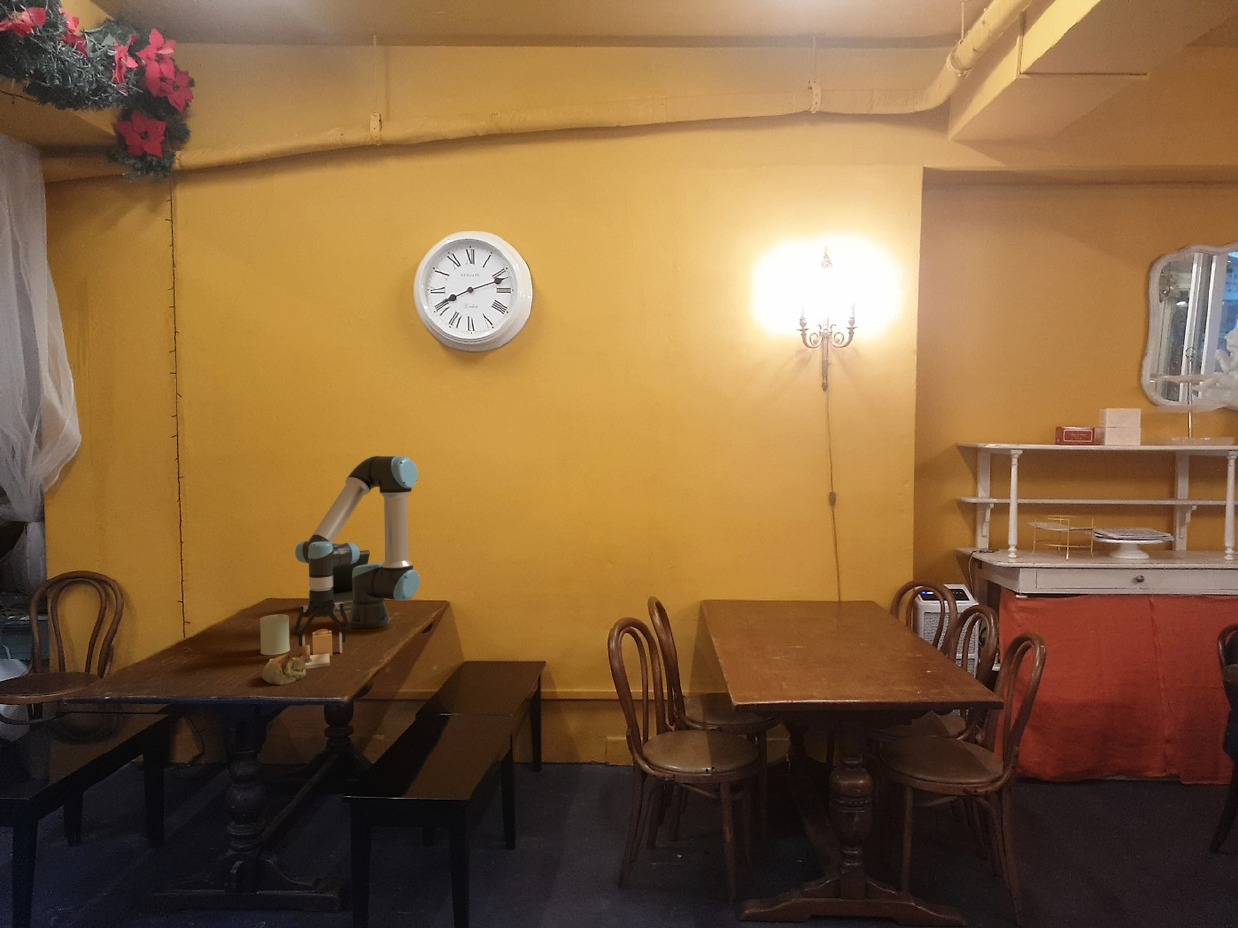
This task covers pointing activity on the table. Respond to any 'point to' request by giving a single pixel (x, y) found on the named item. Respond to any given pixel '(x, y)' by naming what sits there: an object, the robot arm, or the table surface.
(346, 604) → the dark boxy piece
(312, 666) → the flat beige board
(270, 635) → the can
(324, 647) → the cube with dome bump
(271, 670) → the pastry
